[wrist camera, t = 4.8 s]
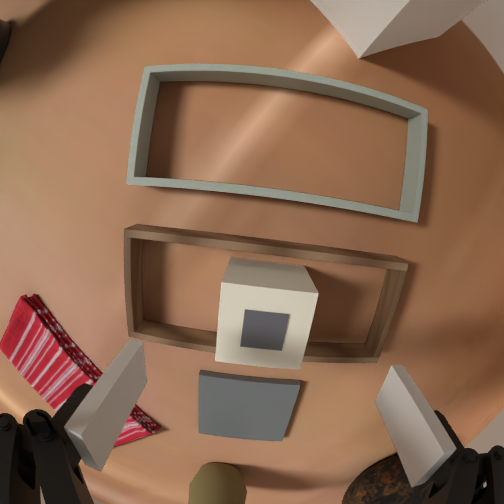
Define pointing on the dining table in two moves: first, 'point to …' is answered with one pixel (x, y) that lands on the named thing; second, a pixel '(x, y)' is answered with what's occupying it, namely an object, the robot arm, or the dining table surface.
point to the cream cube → (264, 313)
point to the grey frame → (292, 81)
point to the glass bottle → (385, 485)
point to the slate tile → (245, 405)
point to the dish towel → (57, 362)
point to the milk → (392, 21)
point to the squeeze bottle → (217, 485)
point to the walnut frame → (265, 246)
